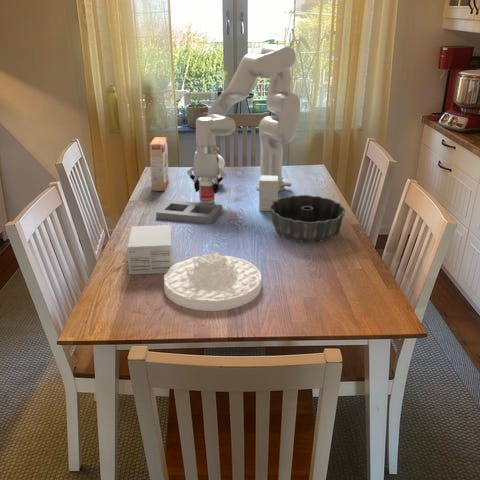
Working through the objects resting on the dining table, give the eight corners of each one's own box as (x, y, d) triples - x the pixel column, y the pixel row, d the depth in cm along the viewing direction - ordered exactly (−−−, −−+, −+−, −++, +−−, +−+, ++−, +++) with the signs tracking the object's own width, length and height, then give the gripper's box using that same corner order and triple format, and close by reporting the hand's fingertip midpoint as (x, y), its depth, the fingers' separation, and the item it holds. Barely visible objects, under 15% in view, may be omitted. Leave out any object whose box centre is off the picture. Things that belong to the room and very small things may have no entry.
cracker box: (165, 191, 229) (162, 144, 221) (151, 191, 229) (148, 144, 221) (169, 181, 242) (167, 136, 234) (156, 181, 242) (154, 136, 234)
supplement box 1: (173, 273, 159) (171, 245, 155) (129, 275, 158) (126, 247, 154) (173, 250, 175) (171, 223, 171) (132, 251, 173) (130, 225, 169)
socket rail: (222, 211, 208) (222, 205, 207) (211, 223, 195) (211, 217, 194) (169, 206, 212) (169, 200, 211) (156, 218, 200) (155, 212, 199)
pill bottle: (217, 202, 217) (216, 176, 212) (204, 205, 214) (203, 179, 209) (209, 198, 221) (209, 172, 217) (196, 200, 218) (196, 175, 214)
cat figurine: (225, 187, 235) (225, 154, 229) (197, 188, 233) (196, 155, 227) (223, 181, 243) (223, 149, 237) (196, 182, 242) (195, 150, 236)
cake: (209, 257, 170) (209, 229, 166) (280, 283, 154) (281, 254, 150) (143, 289, 150) (141, 259, 147) (216, 324, 134) (216, 291, 130)
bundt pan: (347, 250, 175) (350, 222, 171) (268, 248, 176) (269, 220, 172) (339, 221, 199) (341, 196, 195) (269, 219, 200) (270, 194, 196)
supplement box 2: (277, 205, 214) (278, 175, 209) (277, 211, 207) (278, 181, 202) (259, 204, 215) (260, 174, 210) (258, 211, 208) (259, 180, 203)
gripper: (229, 148, 210) (229, 190, 217) (188, 145, 214) (189, 187, 221) (224, 152, 203) (224, 196, 210) (181, 149, 207) (183, 192, 214)
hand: (206, 191), depth 216 cm, fingers open, 7 cm apart
